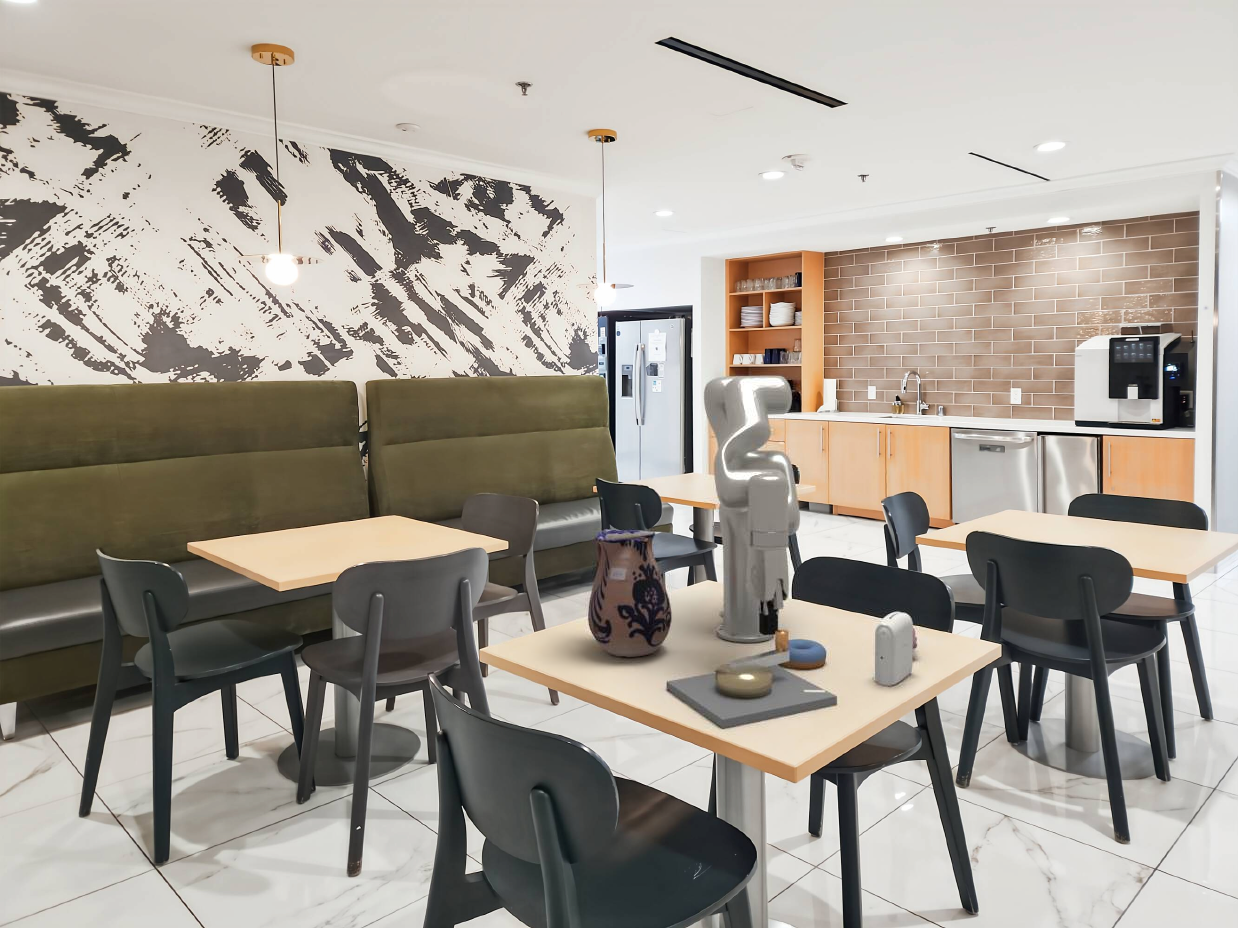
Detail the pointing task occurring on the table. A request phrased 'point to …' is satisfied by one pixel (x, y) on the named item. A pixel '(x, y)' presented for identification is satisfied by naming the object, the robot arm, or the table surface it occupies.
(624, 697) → the table surface
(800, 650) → the doughnut
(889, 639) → the photo printer
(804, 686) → the stand
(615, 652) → the ceramic pitcher
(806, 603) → the table surface
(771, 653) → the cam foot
